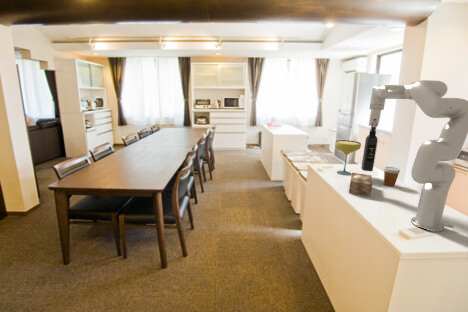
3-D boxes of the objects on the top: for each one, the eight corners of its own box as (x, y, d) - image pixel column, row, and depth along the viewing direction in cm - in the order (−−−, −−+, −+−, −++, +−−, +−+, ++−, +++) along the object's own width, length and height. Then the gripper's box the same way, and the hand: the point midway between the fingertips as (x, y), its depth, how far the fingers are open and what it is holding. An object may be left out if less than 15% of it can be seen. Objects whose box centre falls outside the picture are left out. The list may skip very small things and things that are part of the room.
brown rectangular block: (369, 186, 170) (371, 174, 167) (370, 196, 152) (372, 184, 150) (350, 183, 175) (352, 172, 173) (348, 193, 158) (350, 180, 156)
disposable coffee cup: (394, 183, 176) (397, 167, 173) (399, 188, 167) (402, 171, 164) (379, 182, 179) (382, 166, 176) (383, 186, 170) (386, 169, 167)
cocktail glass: (360, 177, 188) (365, 144, 182) (336, 176, 189) (340, 144, 183) (350, 169, 206) (354, 140, 200) (328, 169, 206) (332, 139, 200)
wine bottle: (373, 171, 155) (381, 123, 147) (363, 170, 156) (370, 123, 148) (370, 168, 160) (377, 122, 153) (360, 168, 161) (367, 122, 154)
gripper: (369, 106, 157) (365, 134, 162) (369, 107, 142) (364, 138, 147) (383, 106, 154) (378, 135, 158) (384, 108, 139) (379, 140, 144)
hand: (372, 136), depth 153 cm, fingers closed on wine bottle, 5 cm apart
